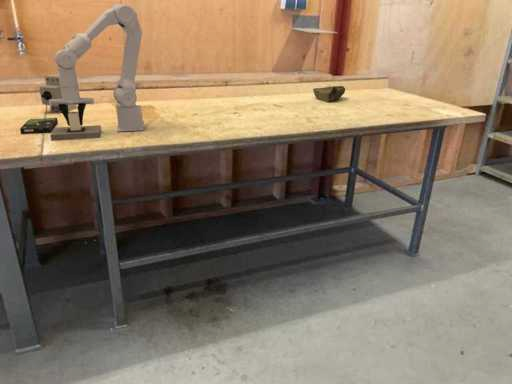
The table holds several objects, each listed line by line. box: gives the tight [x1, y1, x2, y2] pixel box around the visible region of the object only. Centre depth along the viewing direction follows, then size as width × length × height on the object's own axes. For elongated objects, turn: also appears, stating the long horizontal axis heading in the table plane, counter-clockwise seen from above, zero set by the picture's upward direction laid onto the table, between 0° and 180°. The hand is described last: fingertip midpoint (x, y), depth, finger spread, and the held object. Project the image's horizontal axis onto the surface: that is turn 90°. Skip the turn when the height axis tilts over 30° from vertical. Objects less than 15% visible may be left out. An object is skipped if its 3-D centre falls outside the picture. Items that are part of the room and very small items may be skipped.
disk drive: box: [19, 117, 59, 135], centre depth 159 cm, size 10×3×15 cm
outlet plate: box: [50, 124, 102, 142], centre depth 151 cm, size 16×10×2 cm, turn 106°
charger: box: [68, 111, 82, 131], centre depth 149 cm, size 3×3×6 cm
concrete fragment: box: [312, 85, 346, 103], centre depth 218 cm, size 15×10×15 cm
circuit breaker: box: [38, 73, 78, 113], centre depth 182 cm, size 8×14×15 cm, turn 166°
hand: (75, 124), depth 150 cm, fingers closed on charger, 3 cm apart
